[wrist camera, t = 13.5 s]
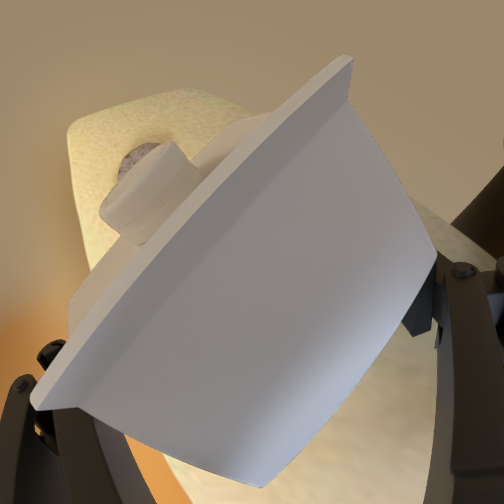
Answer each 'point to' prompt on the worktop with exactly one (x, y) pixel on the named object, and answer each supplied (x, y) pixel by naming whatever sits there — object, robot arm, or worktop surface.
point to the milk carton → (244, 287)
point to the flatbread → (135, 157)
